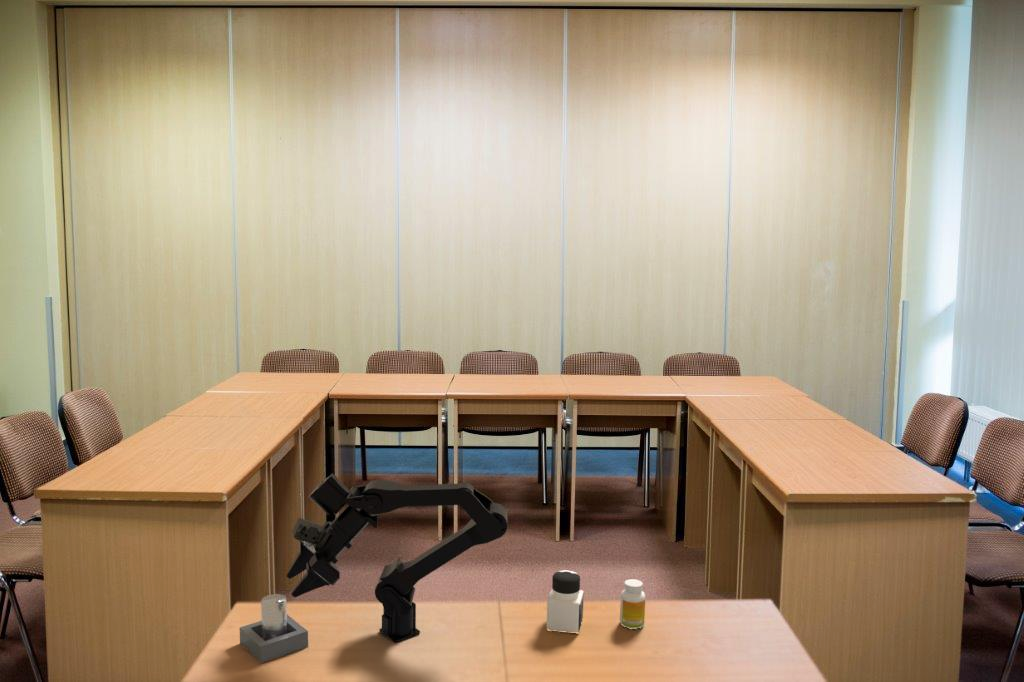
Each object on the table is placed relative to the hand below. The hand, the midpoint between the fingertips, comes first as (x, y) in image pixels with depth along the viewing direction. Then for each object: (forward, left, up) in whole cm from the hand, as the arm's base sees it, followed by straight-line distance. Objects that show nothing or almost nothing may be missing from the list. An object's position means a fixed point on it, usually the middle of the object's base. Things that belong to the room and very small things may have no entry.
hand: (290, 586), depth 171 cm
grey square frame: (+3, -1, -12) cm, 13 cm away
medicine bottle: (-50, +31, -12) cm, 60 cm away
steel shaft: (+3, -1, -12) cm, 13 cm away
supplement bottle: (-62, +40, -12) cm, 74 cm away
